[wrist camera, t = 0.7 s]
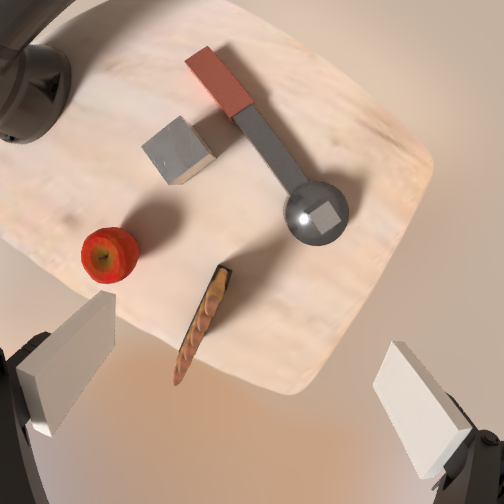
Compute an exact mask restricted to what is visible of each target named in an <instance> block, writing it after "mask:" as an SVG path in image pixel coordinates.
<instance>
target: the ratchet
mask: <svg viewBox="0 0 504 504" xmlns="http://www.w3.org/2000/svg"><path fill="white" fill-rule="evenodd" d="M185 63H186V65H187V66H188V68H189V69H190V71H191V72H192V73H193V74H194V75H195V77H196V78H197V79H198V80H199V82H200V83H201V84H202V85H203V86H204V88H205V89H206V90H207V91H208V93H209V94H210V95H211V96H212V98H213V99H214V100H215V102H216V103H217V104H218V105H219V107H220V108H221V109H222V110H223V112H224V113H225V114H226V116H227V117H228V118H229V119H230V121H231V122H233V121H234V122H235V123H236V124H237V126H238V127H239V128H240V130H241V131H242V132H243V134H244V135H245V136H246V138H247V139H248V140H249V142H250V143H251V144H252V146H253V147H254V148H255V150H256V151H257V152H258V154H259V155H260V156H261V158H262V159H263V160H264V162H265V163H266V165H267V166H268V167H269V169H270V170H271V171H272V173H273V174H274V176H275V177H276V178H277V180H278V181H279V183H280V184H281V185H282V187H283V188H284V190H285V191H286V192H287V194H288V196H287V198H286V200H285V203H284V209H283V214H284V219H285V223H286V225H287V227H288V228H289V230H290V231H291V232H292V234H293V235H294V236H295V237H296V238H297V239H298V240H300V241H301V242H303V243H305V244H308V245H312V246H322V245H326V244H329V243H331V242H333V241H335V240H336V239H337V238H339V236H340V235H341V234H342V233H343V232H344V230H345V228H346V226H347V223H348V218H349V209H348V204H347V202H346V199H345V197H344V196H343V194H342V193H341V192H340V191H339V190H338V189H337V188H336V187H334V186H332V185H330V184H328V183H325V182H309V181H308V179H307V178H306V176H305V175H304V173H303V172H302V171H301V169H300V168H299V166H298V165H297V163H296V162H295V161H294V159H293V158H292V156H291V155H290V154H289V152H288V151H287V149H286V148H285V147H284V145H283V144H282V143H281V141H280V140H279V139H278V137H277V136H276V135H275V133H274V132H273V131H272V129H271V128H270V127H269V125H268V124H267V123H266V121H265V120H264V119H263V117H262V116H261V115H260V113H259V112H258V111H257V110H256V108H255V107H254V101H253V99H252V98H251V97H250V96H249V94H248V93H247V92H246V91H245V89H244V88H243V87H242V86H241V84H240V83H239V82H238V81H237V80H236V78H235V77H234V76H233V75H232V73H231V72H230V71H229V70H228V69H227V68H226V66H225V65H224V64H223V63H222V62H221V60H220V59H219V58H218V57H217V56H216V55H215V54H214V52H213V51H212V50H211V49H210V48H209V47H208V46H206V47H205V48H203V49H202V50H200V51H199V52H197V53H196V54H194V55H193V56H191V57H190V58H188V59H187V60H185Z"/></svg>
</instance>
